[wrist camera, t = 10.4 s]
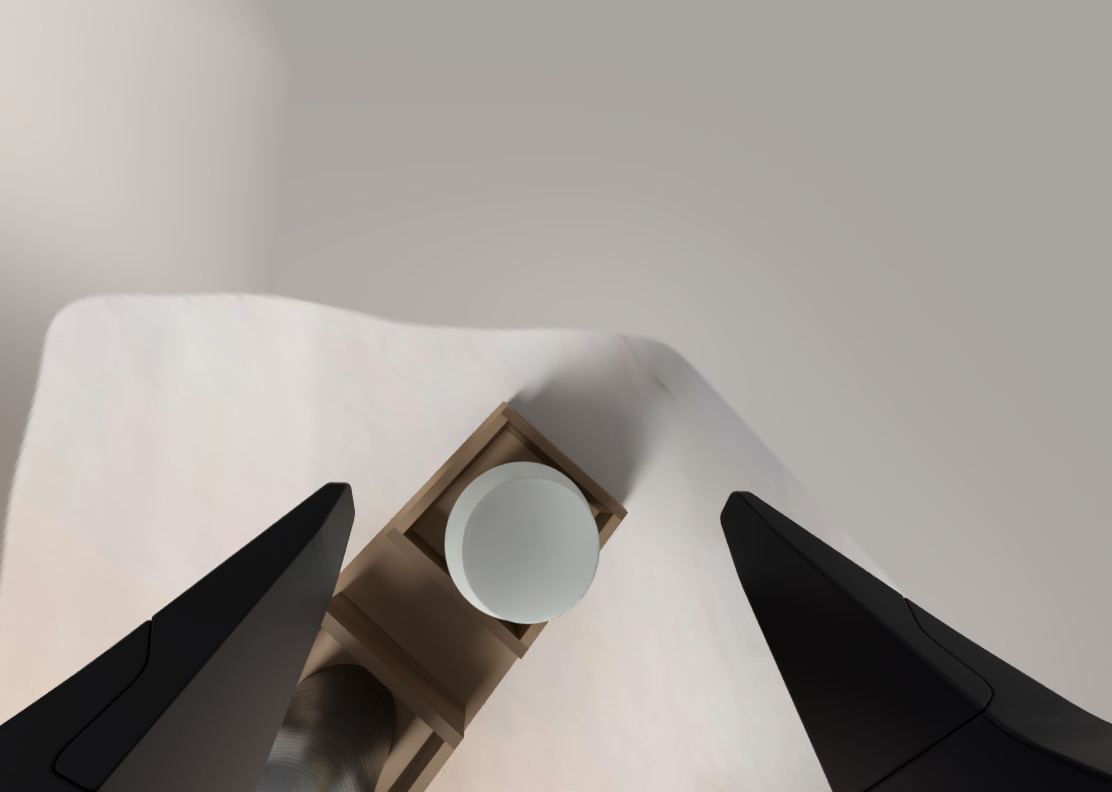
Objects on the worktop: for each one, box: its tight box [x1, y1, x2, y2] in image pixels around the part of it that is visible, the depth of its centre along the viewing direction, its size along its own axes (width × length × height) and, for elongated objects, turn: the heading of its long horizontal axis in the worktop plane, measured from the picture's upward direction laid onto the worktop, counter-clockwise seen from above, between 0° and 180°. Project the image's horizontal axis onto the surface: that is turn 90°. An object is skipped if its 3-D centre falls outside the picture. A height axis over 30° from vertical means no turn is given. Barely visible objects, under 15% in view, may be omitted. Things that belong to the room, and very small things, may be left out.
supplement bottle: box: [445, 462, 600, 624], centre depth 16 cm, size 5×5×10 cm
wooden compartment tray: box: [297, 401, 628, 792], centre depth 18 cm, size 20×9×4 cm, turn 140°
